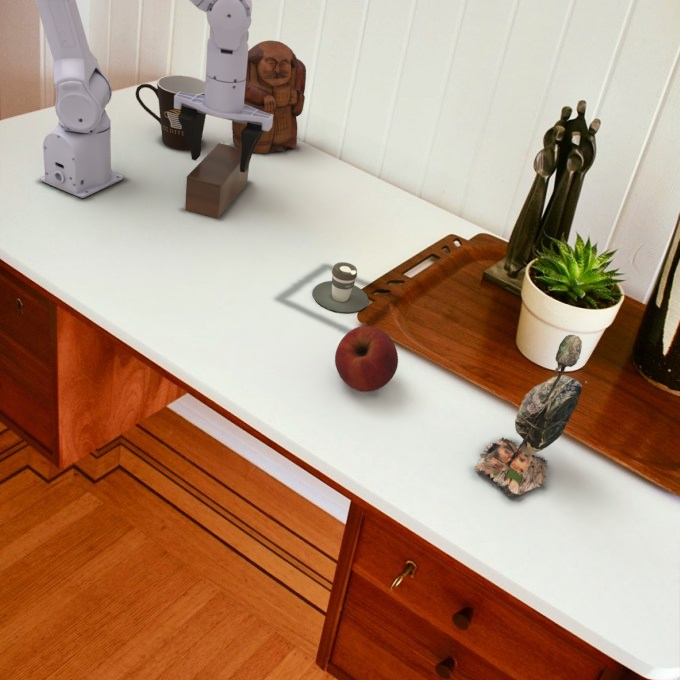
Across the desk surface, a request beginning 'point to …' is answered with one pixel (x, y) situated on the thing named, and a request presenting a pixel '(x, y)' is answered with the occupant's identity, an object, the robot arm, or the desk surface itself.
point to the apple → (366, 359)
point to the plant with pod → (535, 427)
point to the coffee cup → (341, 291)
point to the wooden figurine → (274, 94)
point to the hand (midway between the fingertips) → (220, 163)
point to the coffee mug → (172, 107)
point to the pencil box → (215, 181)
